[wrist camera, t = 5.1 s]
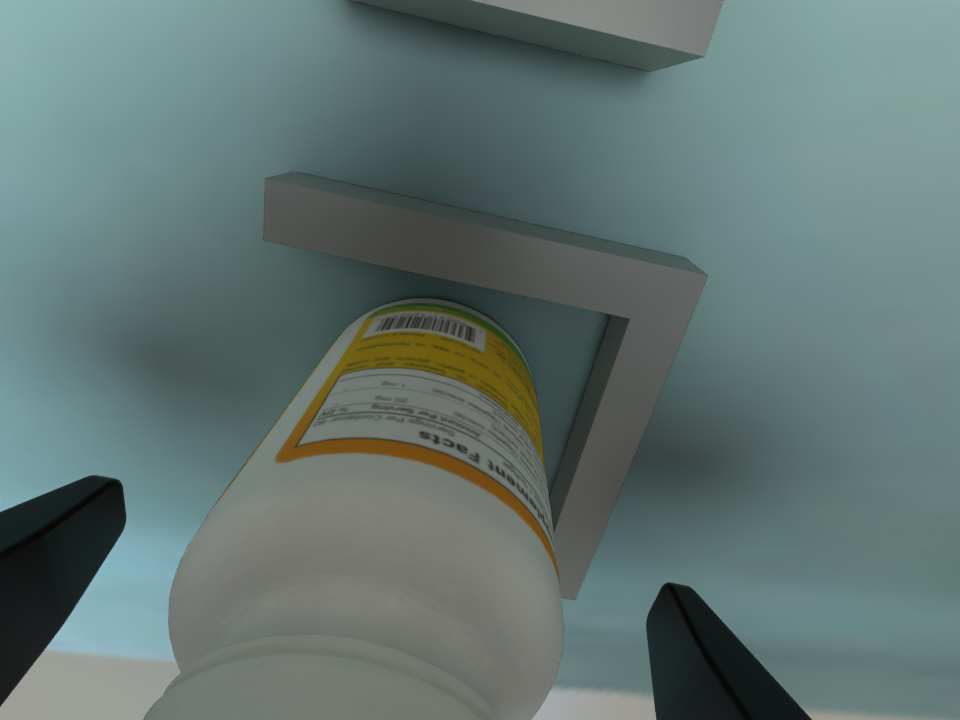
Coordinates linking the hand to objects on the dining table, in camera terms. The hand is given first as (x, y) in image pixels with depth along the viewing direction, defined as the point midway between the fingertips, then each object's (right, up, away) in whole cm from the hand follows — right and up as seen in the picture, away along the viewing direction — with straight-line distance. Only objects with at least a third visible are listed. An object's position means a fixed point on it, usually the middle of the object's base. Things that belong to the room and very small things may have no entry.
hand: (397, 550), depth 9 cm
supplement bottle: (0, +2, +5) cm, 6 cm away
